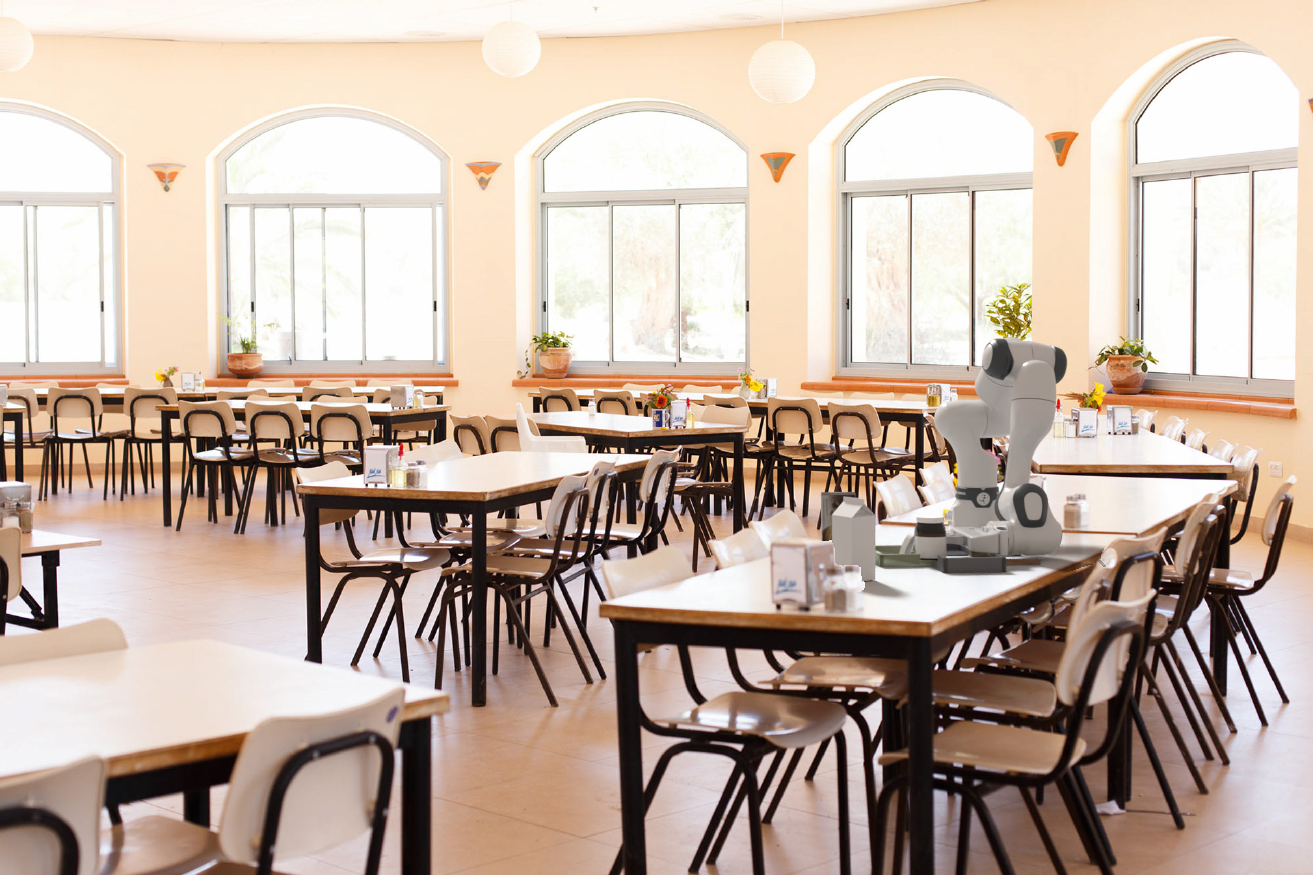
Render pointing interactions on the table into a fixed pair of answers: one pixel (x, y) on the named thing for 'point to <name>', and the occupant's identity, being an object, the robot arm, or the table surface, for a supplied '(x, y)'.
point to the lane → (892, 558)
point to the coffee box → (830, 510)
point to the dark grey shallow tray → (970, 564)
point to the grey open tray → (955, 550)
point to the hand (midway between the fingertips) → (942, 539)
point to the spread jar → (926, 538)
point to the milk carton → (854, 536)
